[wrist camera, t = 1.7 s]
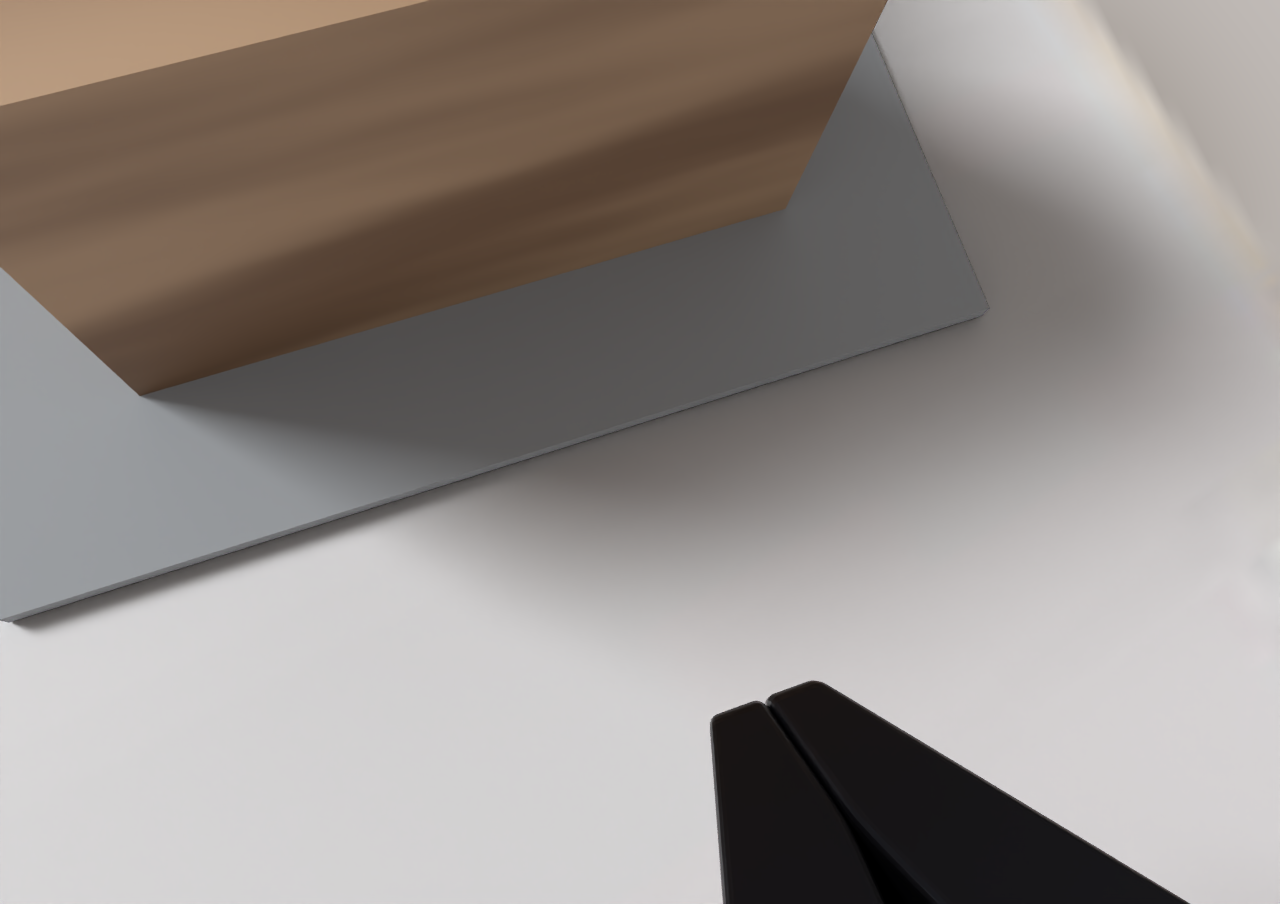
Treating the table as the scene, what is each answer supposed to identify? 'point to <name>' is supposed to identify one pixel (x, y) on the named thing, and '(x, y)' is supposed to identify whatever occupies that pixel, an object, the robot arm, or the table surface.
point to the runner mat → (465, 373)
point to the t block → (380, 154)
